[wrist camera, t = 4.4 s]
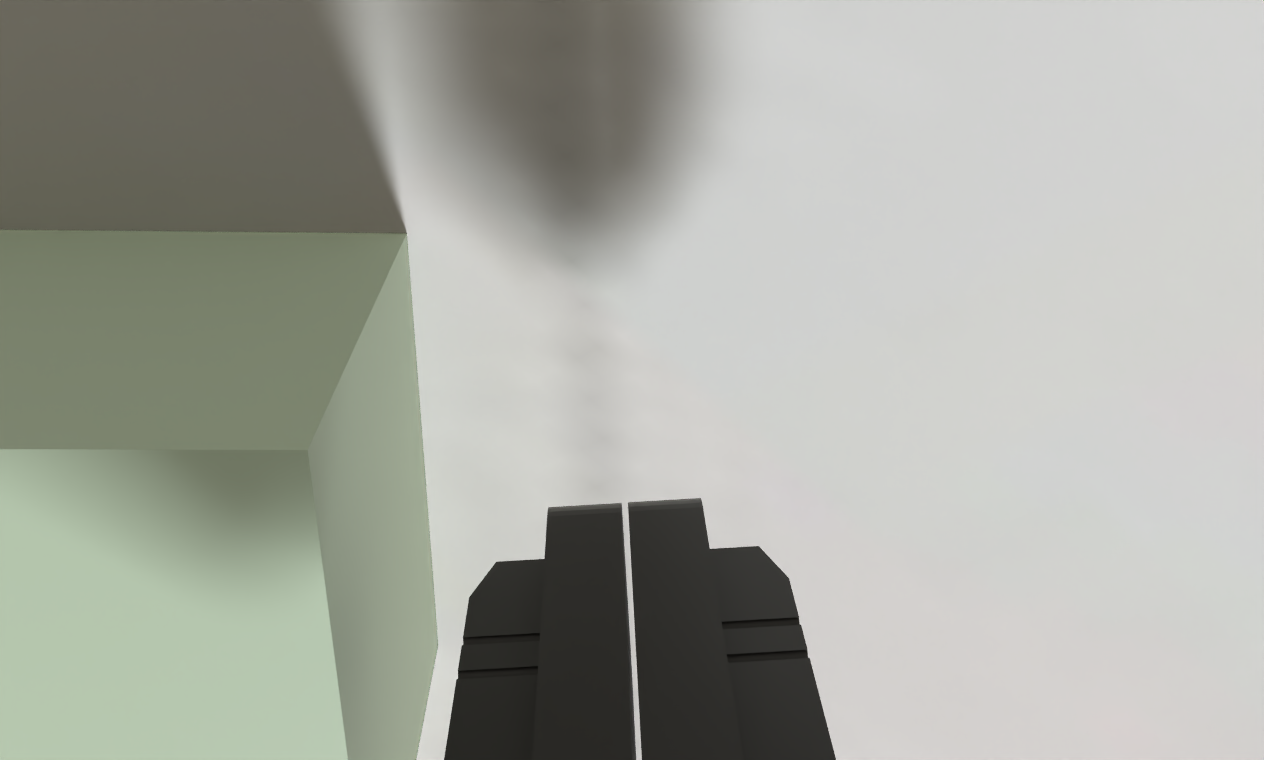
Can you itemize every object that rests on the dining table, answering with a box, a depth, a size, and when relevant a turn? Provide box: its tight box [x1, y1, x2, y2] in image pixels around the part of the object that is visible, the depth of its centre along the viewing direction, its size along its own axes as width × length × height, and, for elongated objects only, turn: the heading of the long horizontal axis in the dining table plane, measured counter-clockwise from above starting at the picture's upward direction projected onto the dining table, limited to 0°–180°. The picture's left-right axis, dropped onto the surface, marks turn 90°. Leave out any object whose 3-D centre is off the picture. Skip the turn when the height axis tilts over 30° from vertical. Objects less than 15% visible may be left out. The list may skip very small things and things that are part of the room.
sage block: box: [0, 230, 438, 760], centre depth 12 cm, size 7×6×5 cm
